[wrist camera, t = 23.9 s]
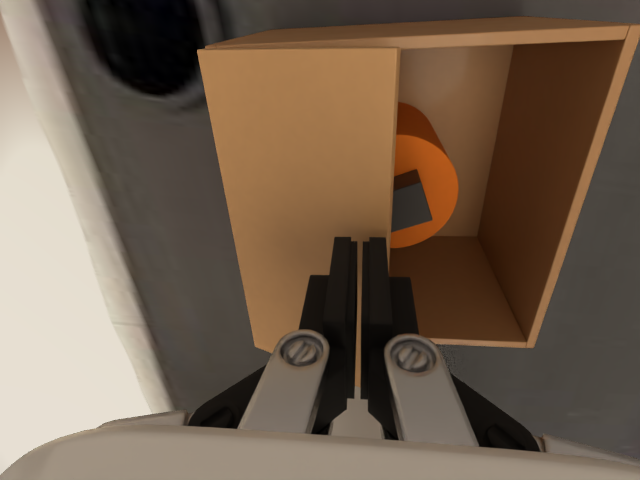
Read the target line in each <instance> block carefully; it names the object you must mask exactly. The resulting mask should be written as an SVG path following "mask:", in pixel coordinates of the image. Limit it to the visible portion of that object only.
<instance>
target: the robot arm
mask: <svg viewBox="0 0 640 480" xmlns="http://www.w3.org/2000/svg"><path fill="white" fill-rule="evenodd" d="M356 337H357V241H351V237H335V238H334V244H333V251H332V258H331V265H330V272H329V275H310V278H309V282H308V287H307V291H306V296H305V301H304V305H303V310H302V315H301V320H300V324H299V329H298V330H295V331H292V332H290V333H288V334H286V335H284V336H283V337H282V338H281V339H280V340H279V341H278V343H277V344H276V346H275V348H274V350H273V353H272V355H271V357H270V359H269V361H268V363H267V365H265V366H264V367H262V368H260V369H259V370H257V371H256V372H254V373H252V374H251V375H249V376H248V377H246V378H244V379H243V380H241V381H240V382H238V383H236V384H235V385H233V386H232V387H230V388H228V389H227V390H225V391H224V392H222V393H220V394H219V395H217V396H216V397H214V398H213V399H211V400H209V401H208V402H206V403H205V404H203V405H202V406H201V407H200V408H198V409H197V410H196V411H195V412H192V413H187V410H186V409H184V410H177V411H171V412H164V413H158V414H151V415H144V416H138V417H132V418H125V419H118V420H113V421H110V422H107V423H104V424H102V425H101V426H99V427H97V428H96V429H90V430H85V431H81V432H78V433H74V434H71V435H67V436H64V437H61V438H58V439H55V440H53V441H51V442H48V443H46V444H44V445H41V446H39V447H37V448H35V449H33V450H32V451H30V452H28V453H27V454H25V455H23V456H22V457H21V458H20V459H18V460H17V461H16V462H14V463H13V464H12V465H11V466H10V467H9V468H8V469H6V470H5V471H4V472H3V473H2V474H1V475H0V480H640V460H639V459H637V458H634V457H630V456H626V455H622V454H619V453H615V452H611V451H608V450H604V449H600V448H596V447H593V446H589V445H585V444H581V443H578V442H574V441H570V440H566V439H563V438H559V437H555V436H551V435H548V434H543V436H542V438H541V437H537V436H534V435H532V434H531V433H530V432H529V431H528V430H527V429H526V428H525V427H524V426H522V425H521V424H520V423H519V422H517V421H516V420H514V419H513V418H512V417H510V416H509V415H508V414H506V413H505V412H503V411H502V410H501V409H499V408H498V407H496V406H495V405H494V404H492V403H491V402H489V401H488V400H487V399H485V398H484V397H483V396H481V395H480V394H478V393H477V392H476V391H474V390H473V389H471V388H470V387H469V386H467V385H466V384H465V383H463V382H462V381H460V380H459V379H458V378H456V377H455V376H453V375H452V374H451V373H449V370H448V368H447V365H446V363H445V360H444V358H443V355H442V353H441V351H440V349H439V348H438V346H437V345H436V344H435V343H434V342H432V341H431V340H430V339H428V338H426V337H424V336H421V335H419V330H418V323H417V317H416V310H415V304H414V297H413V291H412V284H411V279H410V277H389V271H388V257H387V244H386V237H369V241H363V251H362V296H361V383H360V387H357V386H355V366H356Z"/></svg>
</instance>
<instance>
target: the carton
mask: <svg viewBox="0 0 640 480" xmlns="http://www.w3.org/2000/svg"><path fill="white" fill-rule="evenodd" d="M639 37H640V24H632V23H618V22H603V21H588V20H574V19H559V18H544V17H529V16H516V17H497V18H479V19H460V20H441V21H423V22H404V23H385V24H367V25H348V26H329V27H311V28H292V29H273V30H267V31H263V32H259V33H255V34H251V35H247V36H243V37H239V38H235V39H231V40H227V41H223V42H219V43H215V44H211V45H207V46H205V49H225V48H317V47H400V48H401V54H400V72H399V91H398V102H402V103H406V104H409V105H411V106H413V107H415V108H417V109H418V110H419V111H421V112H422V113H423V114H424V115H425V116H426V117H427V118H428V120H429V121H430V123H431V125H432V127H433V128H434V130H435V132H436V134H437V136H438V138H439V140H440V142H441V144H442V145H443V147H444V149H445V151H446V153H447V155H448V157H449V159H450V160H451V162H452V164H453V166H454V168H455V171H456V174H457V178H458V186H459V191H458V199H457V202H456V206H455V208H454V211H453V213H452V214H451V216H450V218H449V220H448V221H447V222H446V223H445V225H444V226H443V227H442V228H441V229H440V230H439V231H438V232H436V233H435V234H434V235H432V236H431V237H429V238H428V239H426V240H424V241H422V242H420V243H417V244H414V245H411V246H407V247H401V248H390V259H389V277H410V279H411V284H412V291H413V297H414V304H415V310H416V317H417V323H418V330H419V335H421V336H424V337H426V338H428V339H430V340H431V341H432V342H434V343H435V344H450V345H473V346H496V347H519V348H525V347H526V348H534V345H535V342H536V339H537V336H538V334H539V331H540V328H541V325H542V322H543V319H544V316H545V313H546V310H547V307H548V304H549V301H550V298H551V295H552V292H553V290H554V287H555V284H556V281H557V278H558V275H559V272H560V269H561V266H562V263H563V260H564V257H565V254H566V251H567V249H568V246H569V243H570V240H571V237H572V234H573V231H574V228H575V225H576V222H577V219H578V216H579V213H580V210H581V207H582V205H583V202H584V199H585V196H586V193H587V190H588V187H589V184H590V181H591V178H592V175H593V172H594V169H595V166H596V163H597V161H598V158H599V155H600V152H601V149H602V146H603V143H604V140H605V137H606V134H607V131H608V128H609V125H610V122H611V120H612V117H613V114H614V111H615V108H616V105H617V102H618V99H619V96H620V93H621V90H622V87H623V84H624V81H625V78H626V76H627V73H628V70H629V67H630V64H631V61H632V58H633V55H634V52H635V49H636V46H637V43H638V40H639Z"/></svg>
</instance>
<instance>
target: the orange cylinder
mask: <svg viewBox="0 0 640 480" xmlns="http://www.w3.org/2000/svg"><path fill="white" fill-rule="evenodd" d="M458 191H459V186H458V178H457V174H456V171H455V168H454V166H453V164H452V162H451V160H450V159H449V157H448V155H447V153H446V151H445V149H444V147H443V145H442V144H441V142H440V140H439V138H438V136H437V134H436V132H435V130H434V128H433V127H432V125H431V123H430V121H429V120H428V118H427V117H426V116H425V115H424V114H423V113H422V112H421V111H419V110H418V109H417V108H415V107H413V106H411V105H409V104H406V103H402V102H398V110H397V128H396V147H395V166H394V184H393V203H392V222H391V241H390V248H401V247H407V246H411V245H414V244H417V243H420V242H422V241H424V240H426V239H428V238H429V237H431V236H432V235H434V234H435V233H436V232H438V231H439V230H440V229H441V228H442V227H443V226H444V225H445V223H446V222H447V221H448V220H449V218H450V216H451V214H452V213H453V211H454V208H455V206H456V202H457V199H458Z"/></svg>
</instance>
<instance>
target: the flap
mask: <svg viewBox="0 0 640 480" xmlns="http://www.w3.org/2000/svg"><path fill="white" fill-rule="evenodd" d="M197 53H198V58H199V63H200V68H201V73H202V79H203V84H204V89H205V94H206V99H207V104H208V109H209V114H210V119H211V124H212V129H213V135H214V140H215V145H216V150H217V155H218V160H219V165H220V170H221V175H222V180H223V185H224V191H225V196H226V201H227V206H228V211H229V216H230V221H231V226H232V231H233V236H234V241H235V246H236V252H237V257H238V262H239V267H240V272H241V277H242V282H243V287H244V292H245V297H246V302H247V308H248V313H249V318H250V323H251V328H252V333H253V338H254V343H255V347H257V348H260V349H263V350H265V351H268V352H270V353H273V350H274V348H275V346H276V344H277V343H278V341H279V340H280V339H281V338H282V337H283V336H284V335H286V334H288V333H290V332H292V331H295V330H298V329H299V324H300V320H301V315H302V310H303V305H304V301H305V296H306V291H307V287H308V282H309V278H310V275H329V272H330V265H331V258H332V251H333V244H334V238H335V237H351V241H357V337H356V366H355V386H357V387H360V383H361V296H362V251H363V241H369V237H386V244H387V257H388V271H389V259H390V241H391V222H392V203H393V184H394V166H395V147H396V128H397V110H398V91H399V72H400V54H401V48H400V47H317V48H225V49H199V50H197Z"/></svg>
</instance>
